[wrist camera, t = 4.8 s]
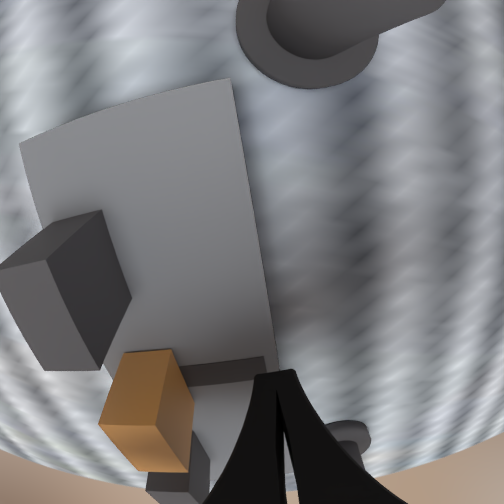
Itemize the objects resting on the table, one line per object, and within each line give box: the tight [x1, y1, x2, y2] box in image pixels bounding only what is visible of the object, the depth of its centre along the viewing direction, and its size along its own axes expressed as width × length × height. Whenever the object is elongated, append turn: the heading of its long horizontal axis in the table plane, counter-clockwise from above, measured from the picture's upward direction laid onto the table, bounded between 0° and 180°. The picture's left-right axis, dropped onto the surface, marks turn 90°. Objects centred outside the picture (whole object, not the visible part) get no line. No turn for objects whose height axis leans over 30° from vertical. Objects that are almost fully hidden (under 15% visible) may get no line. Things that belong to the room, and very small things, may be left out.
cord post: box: [325, 421, 371, 470], centre depth 16 cm, size 5×5×7 cm
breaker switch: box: [98, 349, 195, 472], centre depth 10 cm, size 2×3×4 cm, turn 9°
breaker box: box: [0, 78, 294, 504], centre depth 12 cm, size 7×20×6 cm, turn 9°
